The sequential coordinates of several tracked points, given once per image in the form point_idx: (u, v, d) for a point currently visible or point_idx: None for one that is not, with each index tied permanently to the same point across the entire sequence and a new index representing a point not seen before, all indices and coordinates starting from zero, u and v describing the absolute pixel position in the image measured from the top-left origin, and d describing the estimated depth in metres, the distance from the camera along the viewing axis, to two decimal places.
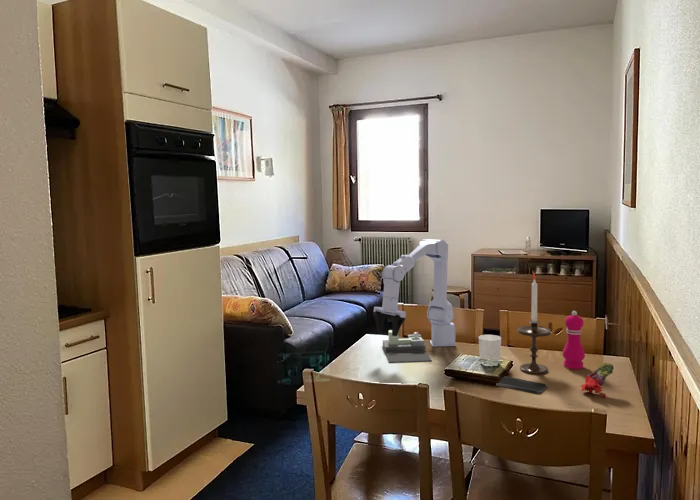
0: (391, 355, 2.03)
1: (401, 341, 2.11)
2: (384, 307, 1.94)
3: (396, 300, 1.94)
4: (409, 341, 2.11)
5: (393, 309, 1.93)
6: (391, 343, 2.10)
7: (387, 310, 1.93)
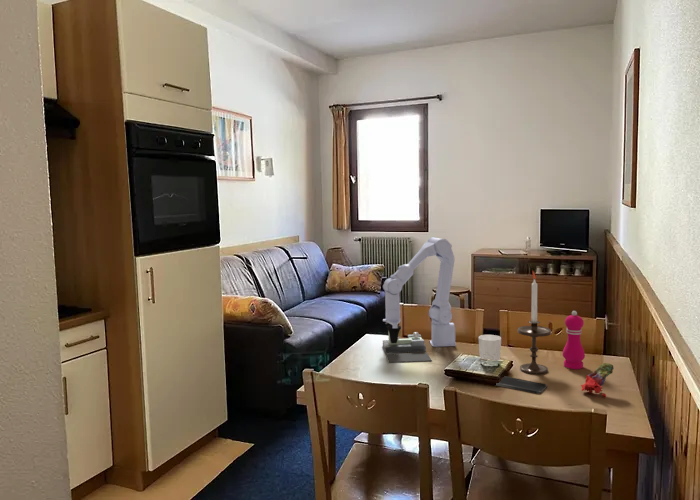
0: (391, 355, 2.03)
1: (401, 341, 2.11)
2: None
3: (394, 311, 2.08)
4: (409, 341, 2.11)
5: (391, 320, 2.08)
6: (391, 343, 2.10)
7: (386, 320, 2.09)
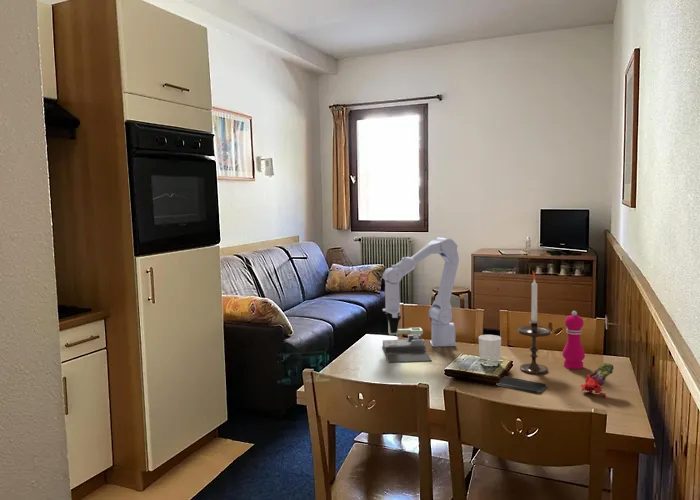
0: (391, 355, 2.03)
1: (401, 331, 2.10)
2: None
3: (393, 301, 2.07)
4: (409, 331, 2.10)
5: (391, 309, 2.07)
6: (391, 333, 2.09)
7: (386, 310, 2.09)
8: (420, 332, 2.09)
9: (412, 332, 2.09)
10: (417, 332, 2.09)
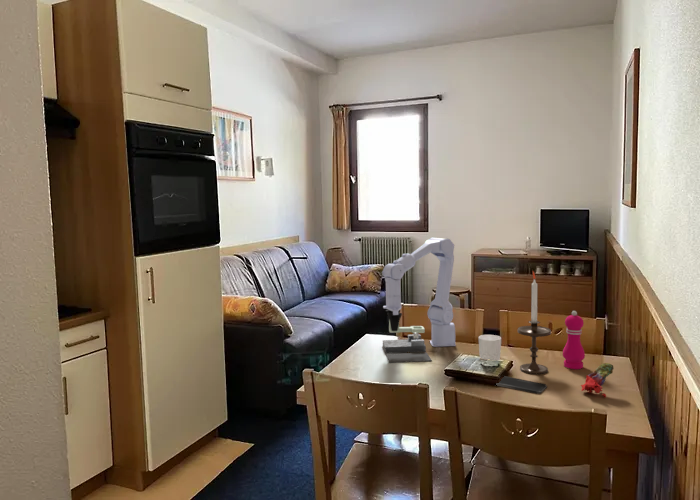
0: (391, 355, 2.03)
1: (402, 329, 2.03)
2: (386, 304, 2.03)
3: (394, 298, 2.00)
4: (410, 330, 2.03)
5: (392, 306, 2.00)
6: (391, 331, 2.02)
7: (387, 307, 2.02)
8: (422, 331, 2.02)
9: (414, 330, 2.02)
10: (419, 330, 2.02)
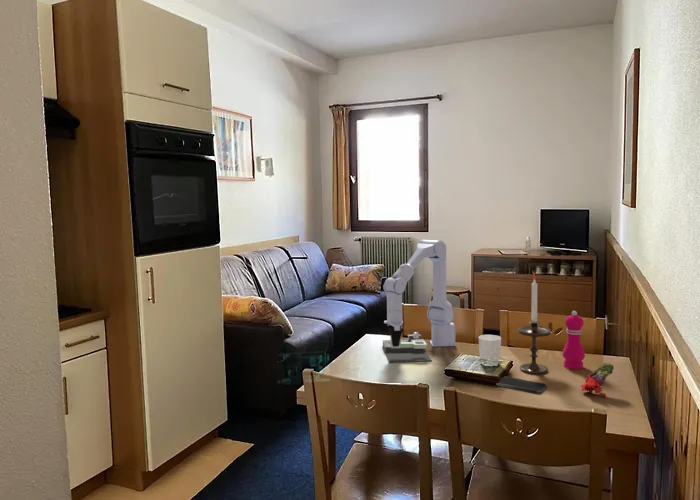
0: (391, 355, 2.03)
1: (404, 345, 1.99)
2: (387, 319, 1.98)
3: (396, 312, 1.95)
4: (412, 345, 1.99)
5: (393, 321, 1.96)
6: (393, 347, 1.98)
7: (388, 322, 1.97)
8: (424, 346, 1.97)
9: (415, 346, 1.97)
10: (421, 346, 1.97)
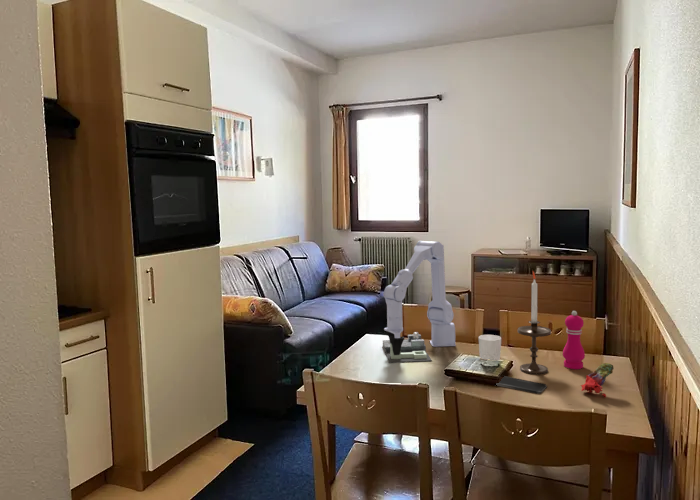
0: None
1: (404, 355, 1.99)
2: (387, 326, 1.99)
3: (396, 320, 1.96)
4: (412, 355, 1.99)
5: (393, 329, 1.96)
6: (393, 357, 1.98)
7: (388, 329, 1.97)
8: (424, 356, 1.98)
9: (415, 356, 1.98)
10: (421, 356, 1.98)
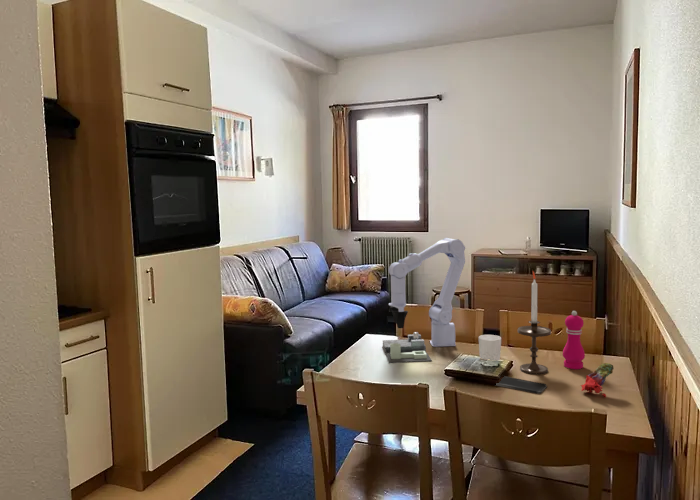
0: None
1: (404, 355, 1.99)
2: (391, 301, 2.11)
3: (399, 295, 2.08)
4: (412, 355, 1.99)
5: (397, 303, 2.08)
6: (393, 357, 1.98)
7: (392, 304, 2.09)
8: (424, 356, 1.98)
9: (415, 356, 1.98)
10: (421, 356, 1.98)
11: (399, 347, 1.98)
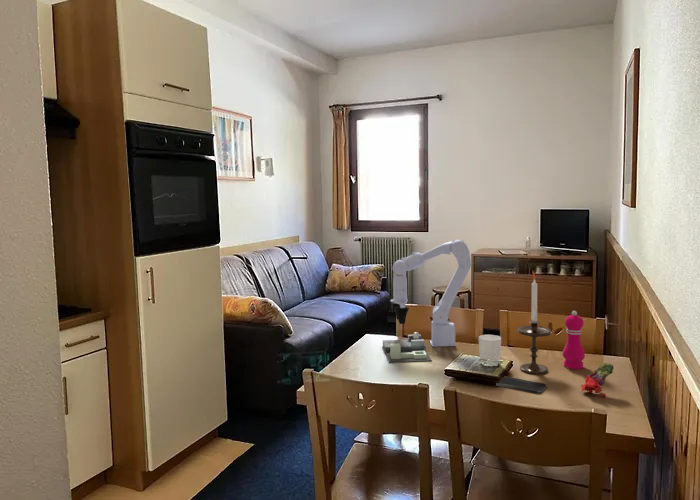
0: None
1: (404, 355, 1.99)
2: (393, 298, 2.18)
3: (401, 292, 2.15)
4: (412, 355, 1.99)
5: (399, 300, 2.15)
6: (393, 357, 1.98)
7: (394, 301, 2.17)
8: (424, 356, 1.98)
9: (415, 356, 1.98)
10: (421, 356, 1.98)
11: (399, 347, 1.98)
